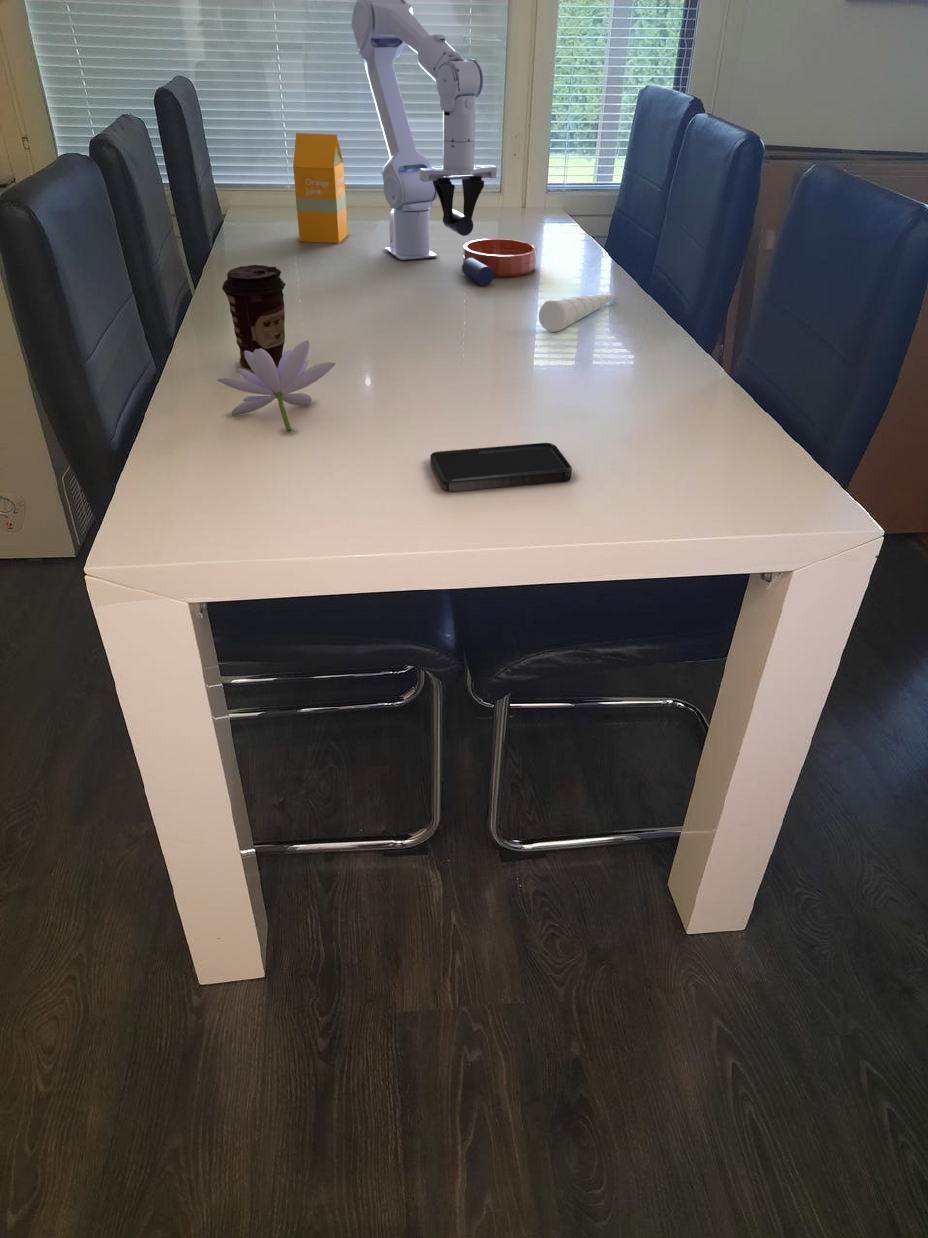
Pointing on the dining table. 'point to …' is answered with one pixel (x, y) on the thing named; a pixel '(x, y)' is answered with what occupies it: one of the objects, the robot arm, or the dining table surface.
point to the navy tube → (477, 271)
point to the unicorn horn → (569, 310)
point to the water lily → (276, 379)
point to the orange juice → (319, 188)
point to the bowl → (503, 255)
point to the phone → (499, 466)
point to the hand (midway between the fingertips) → (457, 221)
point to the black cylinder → (460, 223)
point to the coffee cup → (257, 310)
